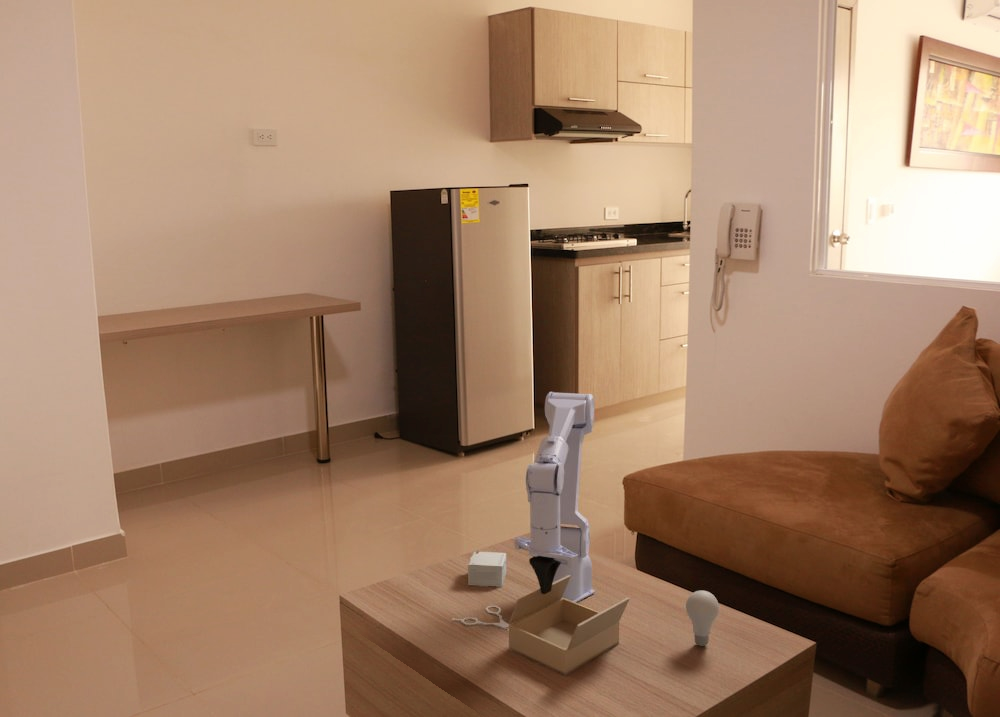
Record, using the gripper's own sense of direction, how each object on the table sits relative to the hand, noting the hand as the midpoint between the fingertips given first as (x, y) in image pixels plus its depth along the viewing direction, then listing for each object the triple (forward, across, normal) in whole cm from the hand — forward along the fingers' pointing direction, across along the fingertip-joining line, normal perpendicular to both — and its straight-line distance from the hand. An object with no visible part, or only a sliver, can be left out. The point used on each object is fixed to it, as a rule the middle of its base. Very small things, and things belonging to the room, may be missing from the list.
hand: (545, 592), depth 173 cm
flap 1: (+2, -1, 0) cm, 2 cm away
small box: (+9, -28, +12) cm, 32 cm away
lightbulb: (+10, +23, +18) cm, 31 cm away
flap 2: (+2, +13, 0) cm, 13 cm away
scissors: (+10, -10, -2) cm, 14 cm away
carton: (+10, +4, 0) cm, 11 cm away
